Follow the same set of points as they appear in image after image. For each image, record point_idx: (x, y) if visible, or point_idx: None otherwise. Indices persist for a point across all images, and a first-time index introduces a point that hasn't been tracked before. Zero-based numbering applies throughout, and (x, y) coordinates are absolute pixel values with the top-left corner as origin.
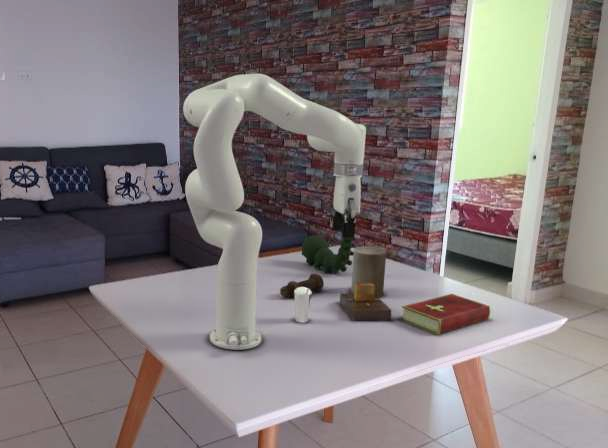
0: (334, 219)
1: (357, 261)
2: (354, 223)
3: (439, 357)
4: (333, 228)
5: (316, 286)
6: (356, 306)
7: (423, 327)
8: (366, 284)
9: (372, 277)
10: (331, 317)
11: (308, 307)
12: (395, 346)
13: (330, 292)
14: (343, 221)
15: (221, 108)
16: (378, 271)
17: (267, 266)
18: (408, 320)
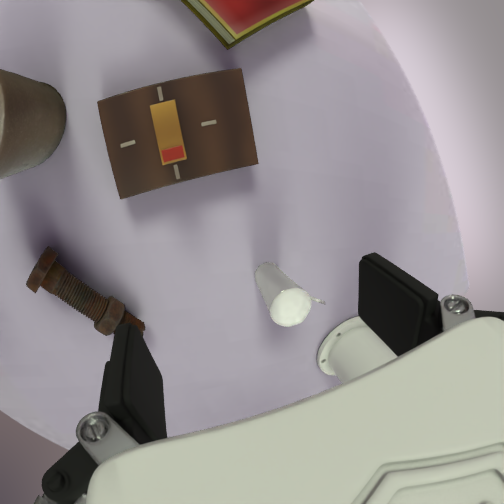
0: (165, 432)
1: (6, 167)
2: (435, 299)
3: (392, 51)
4: (161, 383)
5: (58, 263)
6: (229, 156)
7: (278, 18)
8: (166, 125)
9: (44, 107)
10: (236, 212)
11: (287, 276)
12: (367, 103)
13: (49, 221)
14: (134, 374)
15: None
16: (31, 88)
17: None
18: (242, 36)
